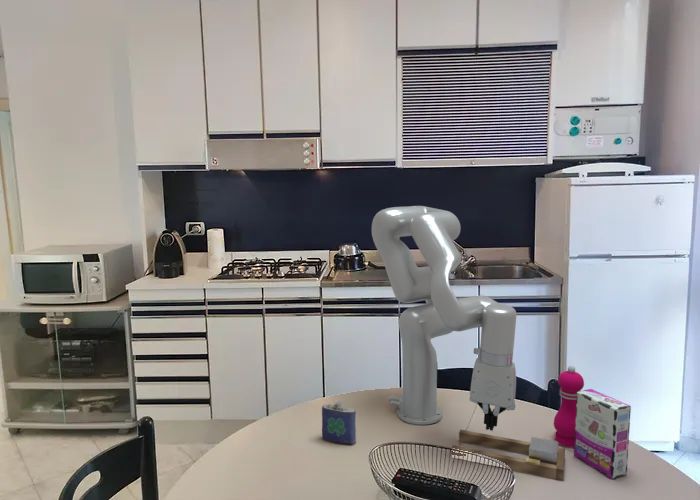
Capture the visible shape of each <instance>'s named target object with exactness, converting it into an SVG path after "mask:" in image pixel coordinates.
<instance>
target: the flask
mask: <svg viewBox="0 0 700 500" xmlns="http://www.w3.org/2000/svg"><path fill="white" fill-rule="evenodd" d="M341 404H342V401H341V400H338V401H335V402H334V405H333V404H331V403H327V404H323V405H322V407H321V437H322V441H324V442H327V443H332V444H338V445H345V446H355V445H356V444H357V443H356V442H357V434H356V433H357V430H356V429H357V428H356V410H355V408H351V407H343V406H341Z"/></svg>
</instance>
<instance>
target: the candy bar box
mask: <svg viewBox="0 0 700 500" xmlns="http://www.w3.org/2000/svg"><path fill="white" fill-rule="evenodd" d="M631 410H632V406H631V405H630V404H627V403H625V402H622V401H621V400H619V399H615V398H613V397H611V396H609V395H606V394H604V393H602V392H599V391H597V390H594V389H592V388H589V389H584V390H580V391H579V392H577V402H576V425H575V444H574V447H573V451H574V452H573V456H574V458H576V459H577V460H580V461H581V462H582V463H584V464H587V466H589V467H591V468H593V469H595V470H596V471H598V472H600V473H601V474H603V475H604V476H606V477H608V478H610V479H611V480H613V479H616V478H620V477H624V476H626V475H627V474H628V473H627V472H628V462H629V461H628V458H629V438H630V427H631V426H630V425H631Z"/></svg>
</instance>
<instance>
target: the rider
mask: <svg viewBox="0 0 700 500" xmlns="http://www.w3.org/2000/svg"><path fill="white" fill-rule="evenodd" d="M530 441H531V442H530ZM530 441H529V442H530V447H529V455H528V458H531V459H536V460H540V462H542V463H547V464H552V465H557V457H558V447H559V443H558V442H557V441H556V440H550V439H547V438H546V439H544V438H540V437H533V436H531V439H530Z"/></svg>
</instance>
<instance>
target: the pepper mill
mask: <svg viewBox="0 0 700 500" xmlns="http://www.w3.org/2000/svg"><path fill="white" fill-rule="evenodd" d="M557 383H558V386H559V387H560V388H559V396H560V397H561V402H560V403H561V404H560V407H559V408H558V410H557V412H556V414H555V416H554V418H553V426H554V427H553V428H554V429H555V430H556V431H555V432H554V435H555V436H554V441H557V442H558V445H561V446H562V447H563V446H564V447H565V448H566V447H567V448H574V444H575V425H576V402H577V392H579V391H583V388H584V386H585V381H584V378H583V376H582V375H581V374H580V373H579V372H576V367H575V366H573V365H568V366H567V370H564V371H563V372H561V373H560V374H559V376H558V378H557Z"/></svg>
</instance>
